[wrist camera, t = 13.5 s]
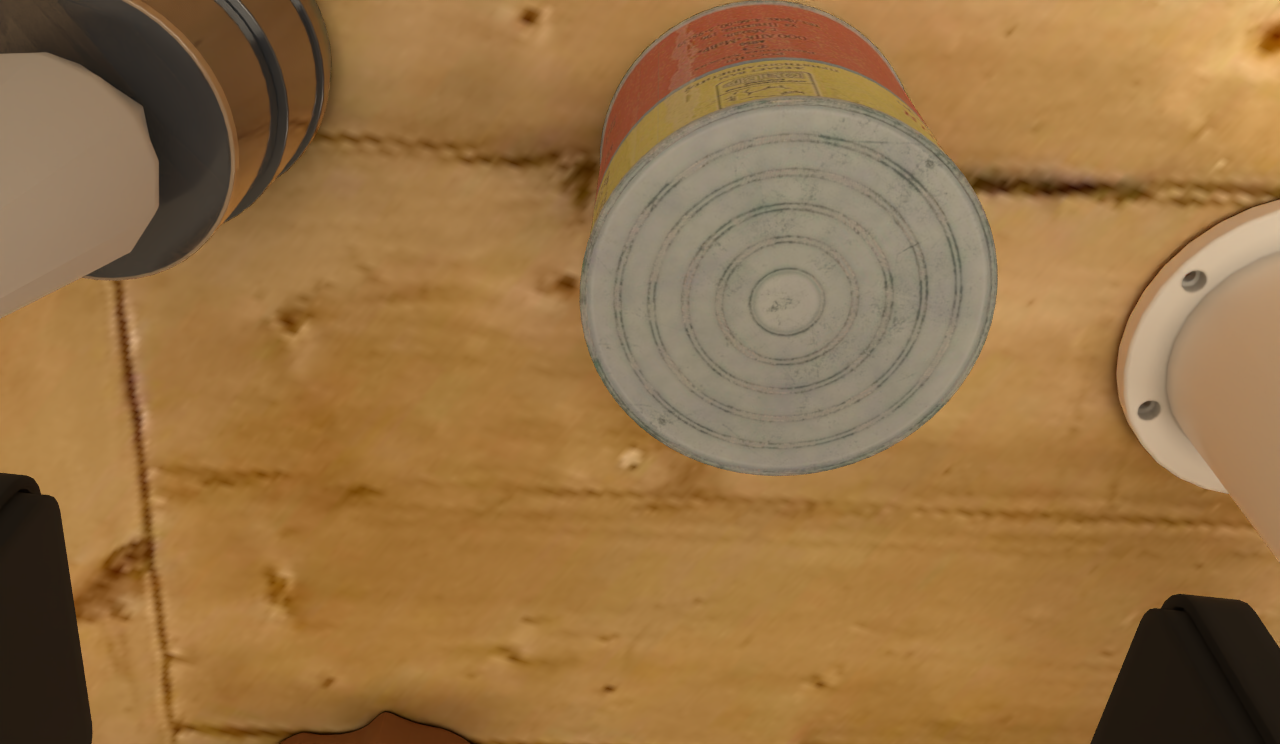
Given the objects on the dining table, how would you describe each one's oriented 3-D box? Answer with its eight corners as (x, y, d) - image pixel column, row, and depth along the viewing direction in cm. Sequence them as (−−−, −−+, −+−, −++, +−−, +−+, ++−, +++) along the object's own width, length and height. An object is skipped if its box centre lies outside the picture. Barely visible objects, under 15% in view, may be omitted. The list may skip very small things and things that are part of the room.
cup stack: (390, 16, 40) (311, 98, 31) (265, 225, 44) (163, 351, 35) (134, -158, 38) (-29, -123, 29) (25, 78, 42) (-150, 175, 33)
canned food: (807, 348, 46) (849, 532, 36) (547, 220, 44) (511, 376, 33) (977, 97, 41) (1085, 224, 31) (696, -63, 39) (708, 15, 28)
